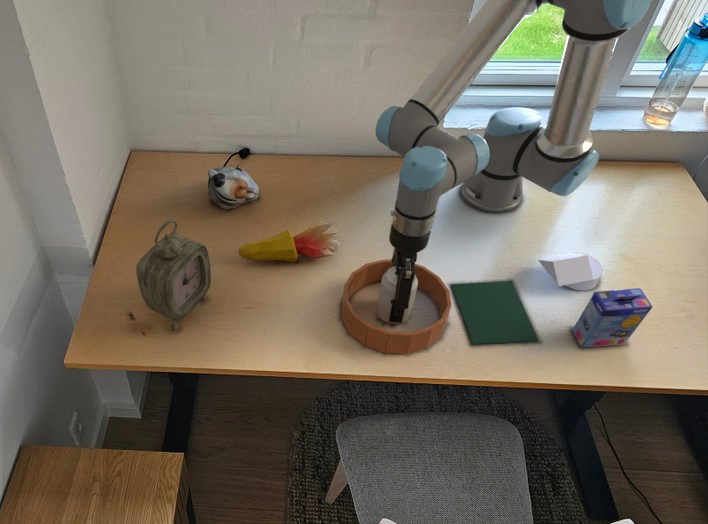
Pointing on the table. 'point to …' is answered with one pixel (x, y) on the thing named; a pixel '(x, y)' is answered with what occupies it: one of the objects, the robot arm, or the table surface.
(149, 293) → the tabletop clock
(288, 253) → the torch
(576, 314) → the table surface
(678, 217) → the table surface
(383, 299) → the can
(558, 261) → the wedge on round base
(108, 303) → the table surface
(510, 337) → the felt mat
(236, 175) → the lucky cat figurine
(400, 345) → the brown wooden ring
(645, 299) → the ink cartridge box
